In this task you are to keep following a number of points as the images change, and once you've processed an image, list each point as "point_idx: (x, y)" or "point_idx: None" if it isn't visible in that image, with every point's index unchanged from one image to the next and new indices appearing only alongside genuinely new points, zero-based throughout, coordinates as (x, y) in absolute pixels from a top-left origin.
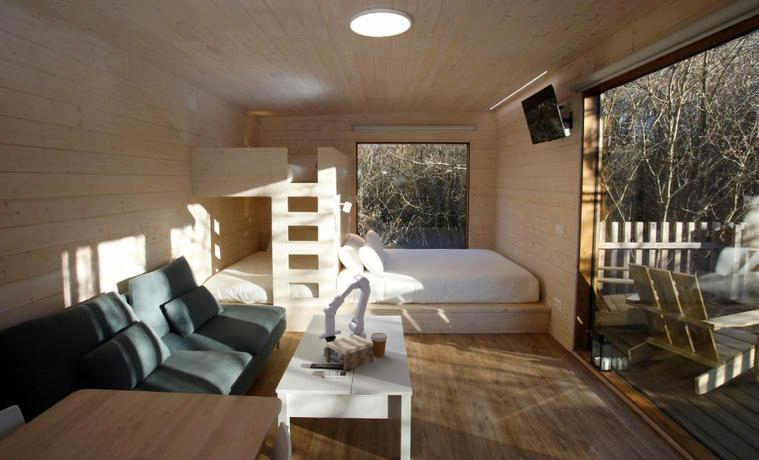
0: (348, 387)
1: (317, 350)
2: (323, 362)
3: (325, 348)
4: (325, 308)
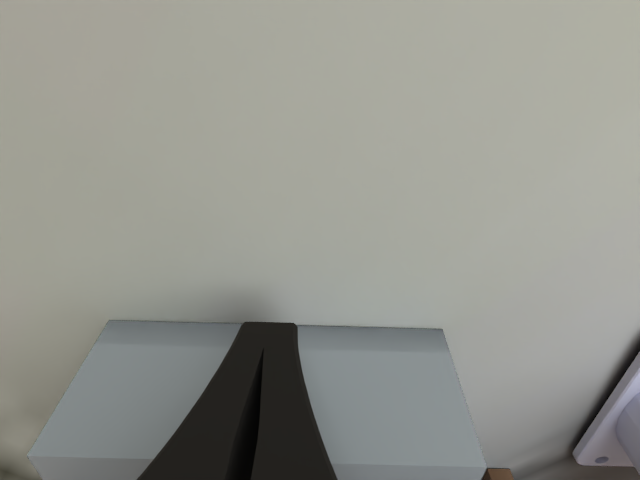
0: None
1: (69, 27)
2: (18, 449)
3: (58, 474)
4: None
